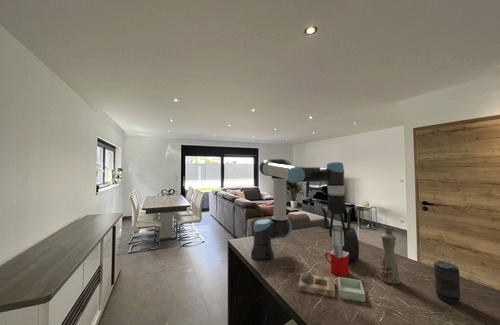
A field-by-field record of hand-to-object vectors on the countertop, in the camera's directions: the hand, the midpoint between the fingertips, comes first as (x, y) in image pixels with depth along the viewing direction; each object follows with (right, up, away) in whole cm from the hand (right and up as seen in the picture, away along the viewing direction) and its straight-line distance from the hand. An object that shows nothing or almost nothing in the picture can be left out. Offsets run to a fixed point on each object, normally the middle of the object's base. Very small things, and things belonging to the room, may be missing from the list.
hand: (338, 244), depth 97 cm
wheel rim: (+20, -23, +34) cm, 46 cm away
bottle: (+30, -22, +8) cm, 38 cm away
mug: (+7, -23, +18) cm, 30 cm away
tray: (+5, -22, -2) cm, 22 cm away
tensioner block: (-9, -22, +3) cm, 24 cm away
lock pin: (0, -6, 0) cm, 5 cm away
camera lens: (+44, -21, -8) cm, 50 cm away
